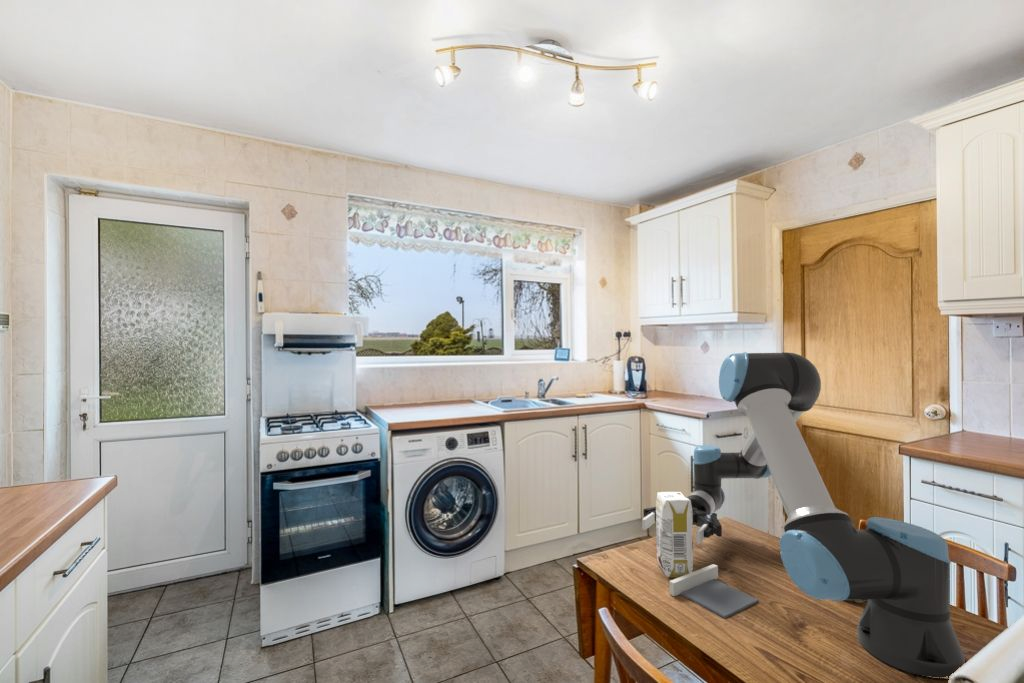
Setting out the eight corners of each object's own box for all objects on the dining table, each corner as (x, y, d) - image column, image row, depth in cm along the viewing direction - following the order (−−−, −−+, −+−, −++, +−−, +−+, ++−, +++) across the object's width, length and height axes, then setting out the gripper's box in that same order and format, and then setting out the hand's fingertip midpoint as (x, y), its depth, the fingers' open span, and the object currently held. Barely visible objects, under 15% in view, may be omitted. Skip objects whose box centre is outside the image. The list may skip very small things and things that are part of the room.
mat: (758, 601, 104) (758, 599, 104) (724, 618, 98) (724, 616, 98) (714, 581, 114) (714, 578, 114) (681, 594, 108) (681, 592, 108)
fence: (718, 578, 115) (717, 565, 115) (673, 596, 107) (673, 583, 107) (713, 576, 116) (713, 563, 116) (669, 594, 108) (669, 581, 108)
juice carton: (665, 579, 115) (664, 501, 115) (654, 563, 123) (653, 490, 123) (696, 579, 115) (695, 501, 115) (683, 563, 123) (682, 490, 124)
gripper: (745, 531, 125) (723, 560, 109) (654, 511, 141) (623, 534, 125) (744, 503, 126) (722, 527, 109) (654, 486, 141) (622, 505, 125)
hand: (669, 531), depth 117 cm, fingers open, 13 cm apart
